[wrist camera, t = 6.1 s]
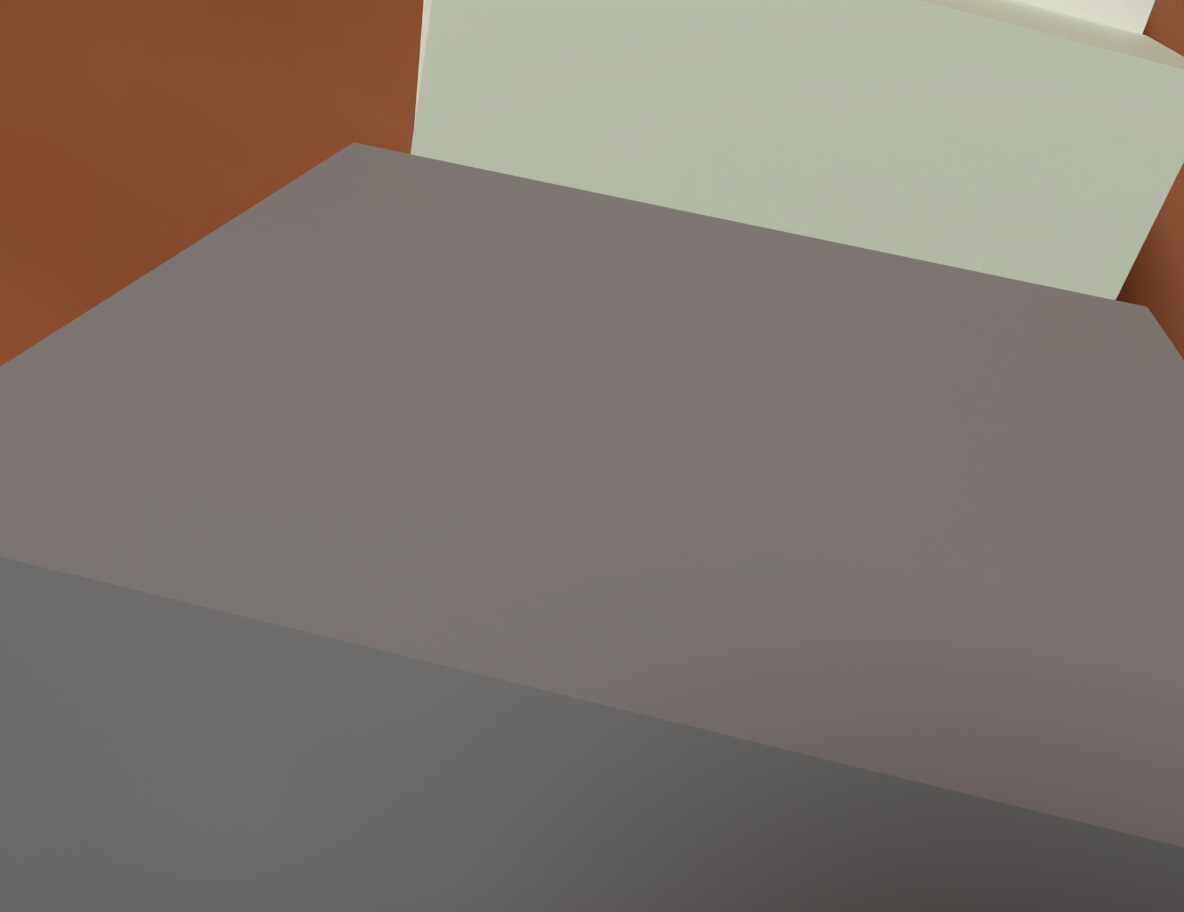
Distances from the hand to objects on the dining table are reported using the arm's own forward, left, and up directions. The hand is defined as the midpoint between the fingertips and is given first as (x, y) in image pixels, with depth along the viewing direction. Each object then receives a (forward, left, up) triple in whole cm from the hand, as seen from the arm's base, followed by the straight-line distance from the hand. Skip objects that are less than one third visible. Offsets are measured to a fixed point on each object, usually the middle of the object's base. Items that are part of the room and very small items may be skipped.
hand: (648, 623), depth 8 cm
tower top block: (0, 0, -9) cm, 9 cm away
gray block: (0, 0, -1) cm, 1 cm away
